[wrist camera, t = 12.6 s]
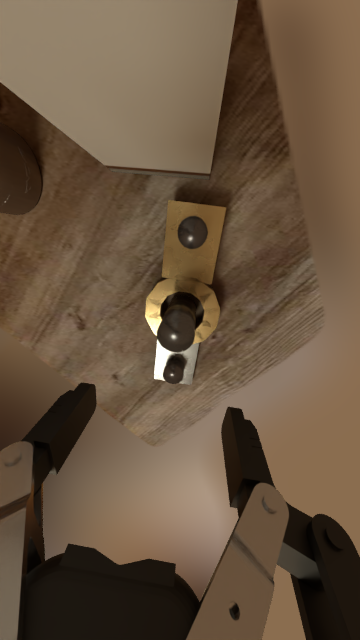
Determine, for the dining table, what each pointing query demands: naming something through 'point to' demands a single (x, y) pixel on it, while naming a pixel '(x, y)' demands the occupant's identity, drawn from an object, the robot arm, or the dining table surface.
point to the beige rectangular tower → (124, 76)
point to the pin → (178, 324)
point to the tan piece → (187, 280)
